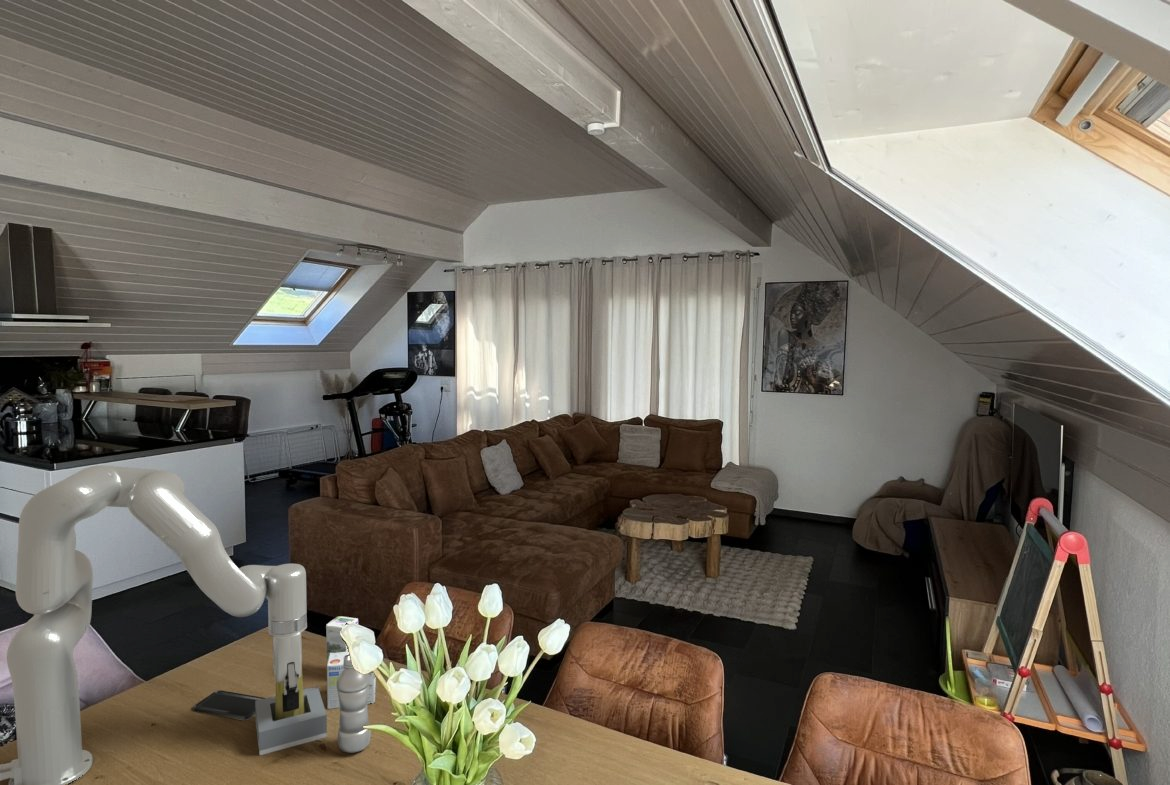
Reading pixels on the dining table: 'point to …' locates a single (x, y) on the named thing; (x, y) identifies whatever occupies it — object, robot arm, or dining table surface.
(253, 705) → the phone
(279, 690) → the vase
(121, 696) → the dining table surface
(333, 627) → the syrup box
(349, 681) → the plastic bottle
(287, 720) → the socket block
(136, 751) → the dining table surface
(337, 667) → the light bulb box
